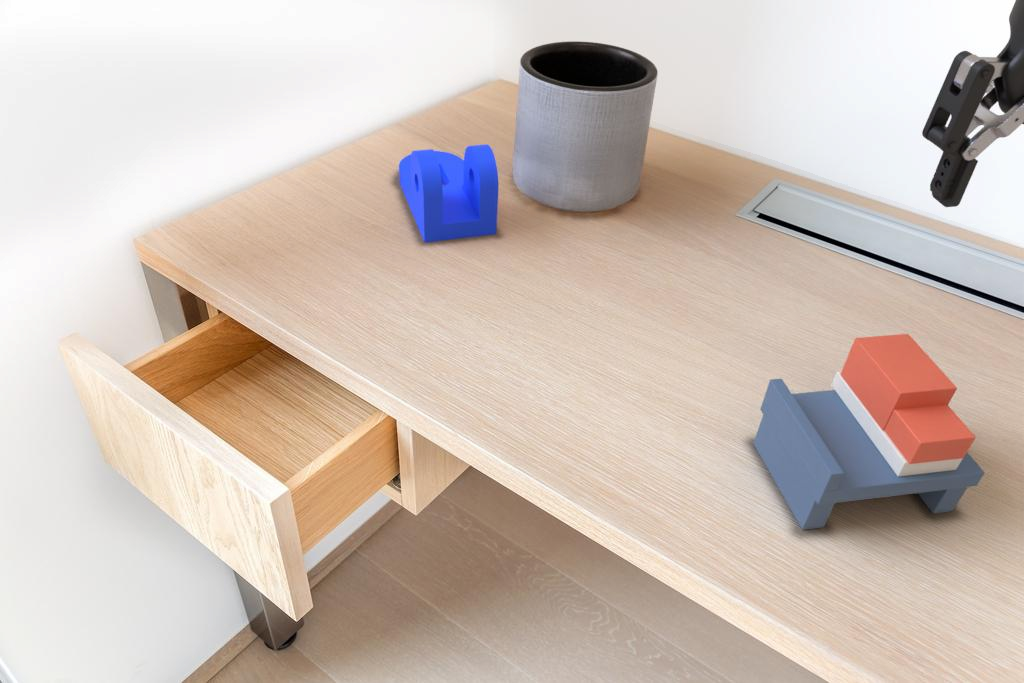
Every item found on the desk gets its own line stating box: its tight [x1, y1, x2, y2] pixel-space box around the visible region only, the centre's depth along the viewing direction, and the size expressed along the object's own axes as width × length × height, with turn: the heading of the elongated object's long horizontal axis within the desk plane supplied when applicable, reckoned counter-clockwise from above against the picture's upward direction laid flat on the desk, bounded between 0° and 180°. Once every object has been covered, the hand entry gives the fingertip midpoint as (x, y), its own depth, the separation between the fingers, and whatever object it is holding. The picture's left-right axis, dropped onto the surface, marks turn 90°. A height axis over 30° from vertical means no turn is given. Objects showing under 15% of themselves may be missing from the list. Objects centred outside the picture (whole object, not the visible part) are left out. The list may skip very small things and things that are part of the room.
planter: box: [511, 40, 659, 214], centre depth 95 cm, size 16×16×16 cm
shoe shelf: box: [753, 378, 986, 531], centre depth 62 cm, size 13×10×7 cm
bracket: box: [398, 144, 499, 243], centre depth 93 cm, size 18×8×9 cm, turn 17°
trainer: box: [830, 333, 977, 477], centre depth 60 cm, size 10×5×5 cm, turn 10°
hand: (995, 197), depth 58 cm, fingers open, 8 cm apart
